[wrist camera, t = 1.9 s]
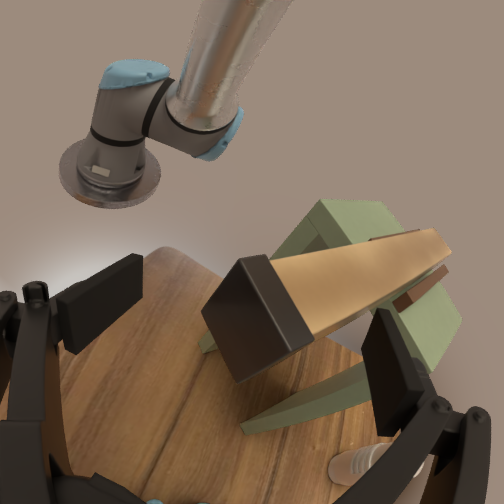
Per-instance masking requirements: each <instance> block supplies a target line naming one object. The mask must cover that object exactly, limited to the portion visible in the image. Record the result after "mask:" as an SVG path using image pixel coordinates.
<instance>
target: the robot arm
mask: <svg viewBox="0 0 504 504" xmlns="http://www.w3.org/2000/svg"><path fill="white" fill-rule="evenodd" d="M292 2H293V0H202V1H201V4H200V8H199V11H198V14H197V17H196V20H195V24H194V27H193V31H192V34H191V38H190V42H189V45H188V49H187V53H186V56H185V61H184V65H183V68H182V73H181V77H179V78H178V79H176V80H174V79H171V78H169V77H168V76H169V75H170V73H169V68H168V67H167V66H164V64H161V63H158V62H155V61H149V60H141V59H128V60H120V61H117V62H114V63H112V64H110V65H109V66H108V67H107V68H106V69H105V72H104V74H103V77H102V80H101V83H100V84H99V90H98V94H97V99H96V103H95V108H94V113H93V117H92V123H91V128H90V132H89V134H88V135H87V137H86V139H85V141H84V143H83V145H82V146H81V148H80V150H79V153H78V157H77V169H78V172H79V173H80V175H81V176H82V177H83V178H84V179H85V180H87V181H88V182H90V183H92V184H94V185H97V186H101V187H105V188H121V187H126V186H129V185H132V184H134V183H136V182H137V181H138V180H139V179H140V178H141V177H142V175H143V173H144V170H145V166H146V153H145V137H148V138H151V139H154V140H156V141H158V142H161V143H163V144H166V145H168V146H171V147H173V148H175V149H178V150H180V151H183V152H185V153H187V154H190V155H191V156H192V157H194V158H200V159H202V160H205V161H214V160H216V159H217V158H218V157H219V156H220V155H221V154H222V153H223V151H224V150H225V149H226V147H227V145H228V143H229V142H230V141H231V140H232V138H233V137H234V135H235V133H236V131H237V130H238V128H239V126H240V124H241V121H242V119H243V115H244V111H243V110H242V108H241V107H239V99H238V95H237V92H238V90H239V88H240V86H241V84H242V83H243V81H244V79H245V77H246V75H247V74H248V72H249V70H250V69H251V67H252V65H253V64H254V62H255V60H256V58H257V57H258V55H259V53H260V52H261V50H262V49H263V47H264V45H265V44H266V42H267V40H268V38H269V37H270V36H271V34H272V32H273V31H274V29H275V28H276V26H277V24H278V23H279V21H280V20H281V18H282V17H283V15H284V14H285V12H286V11H287V9H288V8H289V6H290V5H291V3H292ZM22 290H23V296H24V301H25V303H20V302H18V301H17V296H16V293H14V292H12V291H2V292H0V404H1V401H2V398H3V396H4V393H5V390H6V388H7V385H8V383H9V381H10V387H9V397H8V410H7V420H1V421H0V504H147V503H145V502H144V501H142V500H141V499H140V498H138V497H137V496H135V495H134V494H133V493H131V492H130V491H129V490H127V489H126V488H125V487H123V486H121V485H119V484H117V483H115V482H113V481H111V480H109V479H107V478H105V477H103V476H101V475H99V474H98V473H96V472H95V473H94V474H93V476H92V477H91V478H89V477H85V476H77V475H73V472H72V470H71V467H70V463H69V459H68V453H67V447H66V440H65V433H64V425H63V416H62V406H61V392H60V370H59V346H58V343H59V342H60V341H61V340H62V339H63V343H64V347H65V350H67V351H69V352H71V353H73V354H75V355H77V354H79V353H80V352H81V351H82V350H83V349H84V348H85V347H86V346H87V345H89V344H90V343H91V342H92V341H93V340H94V339H95V338H96V337H98V336H99V335H100V334H101V333H102V332H103V331H104V330H106V329H107V328H108V327H109V326H110V325H111V324H112V323H114V322H115V321H116V320H117V319H118V318H119V317H120V316H122V315H123V314H124V313H125V312H126V311H127V310H129V309H130V308H131V307H132V306H133V305H134V304H136V303H137V302H138V301H139V300H140V299H141V298H143V256H142V255H138V254H134V253H132V254H130V255H128V256H126V257H125V258H123V259H121V260H119V261H117V262H116V263H114V264H112V265H111V266H109V267H107V268H105V269H103V270H102V271H100V272H98V273H96V274H95V275H93V276H91V277H90V278H88V279H87V280H84V281H80V282H77V283H75V284H73V285H71V286H70V287H69V288H66V289H65V290H64V291H62V292H60V293H58V294H56V295H55V296H53V297H51V298H50V299H49V293H48V286H47V284H46V283H45V282H42V281H33V282H30V283H27V284H25V285H24V286H23V287H22ZM361 351H362V355H363V360H364V364H365V369H366V374H367V379H368V384H369V389H370V394H371V400H372V405H373V411H374V417H375V423H376V429H377V435H378V436H384V437H394V436H395V434H396V433H397V431H398V430H399V429H401V434H400V435H399V436H398V437H397V439H396V440H395V441H394V442H393V443H392V445H391V446H390V447H389V448H388V449H387V450H386V451H385V453H384V454H383V455H382V456H381V457H380V458H379V459H378V460H377V461H376V462H375V463H374V465H373V466H372V467H371V468H370V469H369V470H368V471H367V472H366V473H365V474H364V475H363V476H362V477H361V478H360V479H359V480H358V481H357V482H356V483H355V484H354V485H353V486H352V487H350V488H349V489H348V490H347V491H346V492H345V493H344V494H343V495H342V496H341V497H339V498H338V499H337V500H336V501H335V502H334V503H333V504H393V503H394V502H395V500H396V499H397V498H398V497H399V495H400V494H401V493H402V491H403V490H404V489H405V487H406V486H407V484H409V482H410V481H411V479H412V478H413V477H414V475H415V474H416V472H417V471H418V469H419V468H420V467H421V465H422V464H423V462H424V460H425V459H426V457H427V456H428V454H432V455H435V456H434V460H433V463H432V467H431V471H430V474H429V477H428V480H427V484H426V486H425V489H424V493H423V495H422V499H421V501H420V504H484V503H485V498H486V492H487V484H488V475H489V464H490V448H491V418H490V416H489V414H488V412H487V411H485V410H484V409H482V408H480V407H477V406H474V407H471V408H470V409H469V410H468V411H467V413H466V414H463V413H459V412H455V411H452V410H453V409H452V406H451V404H450V403H449V401H447V400H446V399H445V398H443V397H441V396H438V395H437V393H436V391H435V388H434V386H433V384H432V381H431V379H429V378H430V377H429V375H428V373H427V370H426V368H425V366H424V364H423V363H422V362H421V361H420V360H419V359H418V358H415V357H411V355H410V353H409V351H408V349H407V346H406V344H405V342H404V340H403V338H402V335H401V333H400V331H399V329H398V327H397V325H396V323H395V320H394V318H393V316H392V314H391V312H390V310H388V309H383V308H377V309H376V311H375V314H374V317H373V319H372V323H371V325H370V327H369V330H368V333H367V335H366V338H365V340H364V343H363V345H362V347H361ZM10 378H11V379H10Z"/></svg>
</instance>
